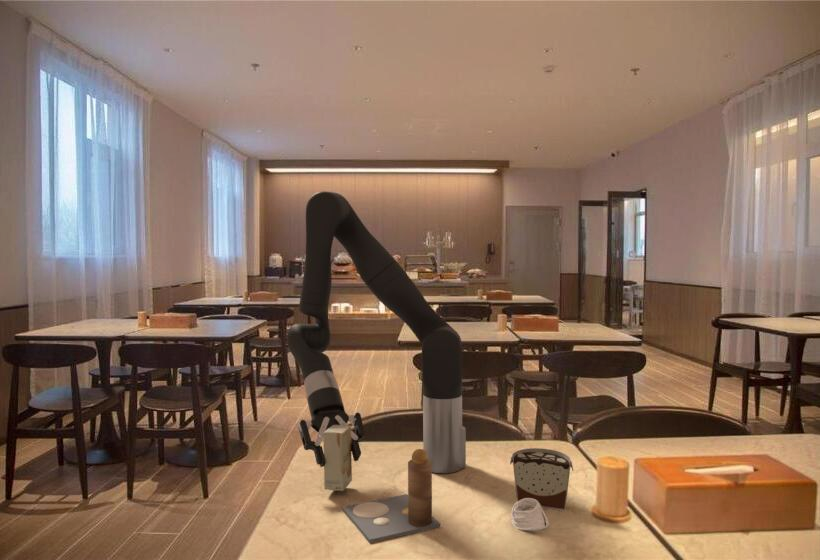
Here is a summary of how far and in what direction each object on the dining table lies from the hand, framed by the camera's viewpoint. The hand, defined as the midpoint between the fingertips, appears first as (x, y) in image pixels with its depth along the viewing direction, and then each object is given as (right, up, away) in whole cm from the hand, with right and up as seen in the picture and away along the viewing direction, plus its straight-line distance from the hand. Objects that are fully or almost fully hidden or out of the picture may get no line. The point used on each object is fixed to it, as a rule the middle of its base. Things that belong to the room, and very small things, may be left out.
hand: (340, 462), depth 121 cm
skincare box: (-1, -6, +2) cm, 6 cm away
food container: (+42, -7, -4) cm, 42 cm away
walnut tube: (+17, -7, -14) cm, 23 cm away
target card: (+11, -7, -11) cm, 17 cm away
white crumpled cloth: (+37, -7, -14) cm, 40 cm away
